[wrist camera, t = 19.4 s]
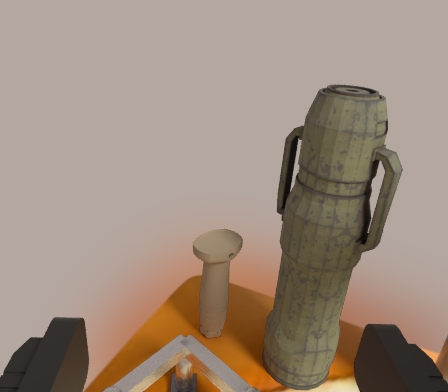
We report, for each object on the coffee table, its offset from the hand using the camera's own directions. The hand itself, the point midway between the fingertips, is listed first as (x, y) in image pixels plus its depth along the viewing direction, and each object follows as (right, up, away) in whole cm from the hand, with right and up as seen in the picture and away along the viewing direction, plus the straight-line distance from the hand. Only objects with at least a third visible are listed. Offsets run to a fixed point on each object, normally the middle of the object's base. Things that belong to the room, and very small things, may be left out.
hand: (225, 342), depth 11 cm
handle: (-2, -15, +43) cm, 46 cm away
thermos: (+9, -18, +39) cm, 44 cm away
